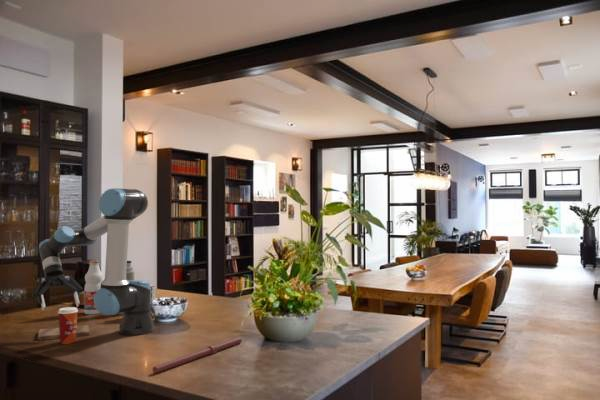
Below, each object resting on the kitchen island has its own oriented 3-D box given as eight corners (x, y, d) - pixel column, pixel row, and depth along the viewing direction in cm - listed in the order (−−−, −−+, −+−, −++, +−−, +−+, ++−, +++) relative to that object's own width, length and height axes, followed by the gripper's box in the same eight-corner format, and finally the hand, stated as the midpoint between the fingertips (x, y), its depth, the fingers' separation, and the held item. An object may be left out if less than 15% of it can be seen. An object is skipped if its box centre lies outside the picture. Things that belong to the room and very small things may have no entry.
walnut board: (88, 328, 224) (88, 324, 224) (89, 335, 211) (89, 331, 211) (39, 332, 215) (39, 329, 215) (37, 340, 202) (37, 336, 202)
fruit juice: (107, 311, 260) (107, 260, 261) (94, 315, 251) (94, 261, 252) (93, 310, 263) (94, 259, 264) (80, 313, 254) (80, 261, 255)
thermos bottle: (125, 315, 251) (126, 262, 252) (114, 313, 255) (115, 261, 255) (137, 312, 258) (137, 260, 259) (126, 311, 262) (127, 259, 262)
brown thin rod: (236, 343, 200) (236, 335, 200) (242, 344, 198) (242, 336, 198) (151, 374, 162) (151, 364, 162) (157, 375, 160) (157, 366, 160)
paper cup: (69, 345, 195) (70, 310, 195) (53, 344, 197) (53, 310, 197) (82, 340, 203) (82, 307, 203) (66, 339, 204) (66, 306, 205)
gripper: (79, 271, 228) (89, 308, 216) (20, 276, 211) (27, 316, 200) (83, 261, 224) (93, 298, 212) (23, 265, 207) (30, 305, 196)
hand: (61, 307), depth 206 cm, fingers open, 13 cm apart
